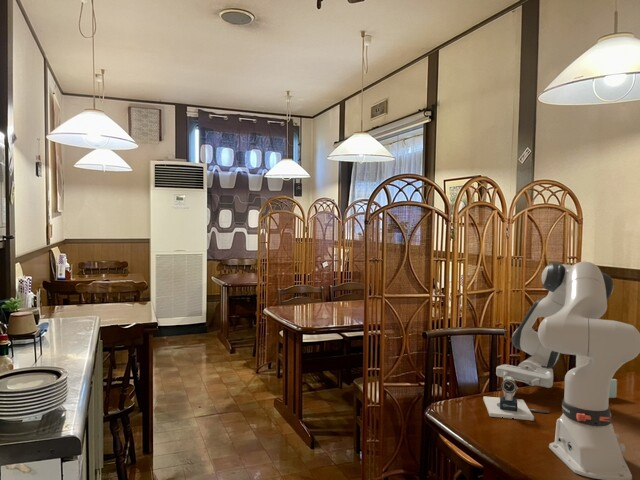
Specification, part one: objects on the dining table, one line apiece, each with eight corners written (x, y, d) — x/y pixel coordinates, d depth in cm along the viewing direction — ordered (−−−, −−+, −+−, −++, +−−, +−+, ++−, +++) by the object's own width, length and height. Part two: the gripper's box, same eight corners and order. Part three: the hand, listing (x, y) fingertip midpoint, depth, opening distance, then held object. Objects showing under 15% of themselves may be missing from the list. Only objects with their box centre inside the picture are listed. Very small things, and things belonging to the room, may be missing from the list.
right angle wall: (616, 399, 175) (616, 379, 175) (587, 400, 173) (588, 380, 173) (594, 388, 187) (594, 370, 186) (567, 389, 185) (567, 370, 185)
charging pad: (555, 422, 151) (555, 418, 151) (490, 416, 156) (490, 412, 156) (542, 404, 167) (542, 401, 167) (483, 399, 171) (483, 396, 171)
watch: (500, 411, 157) (500, 379, 157) (499, 403, 164) (500, 373, 164) (517, 413, 155) (518, 382, 155) (516, 405, 162) (517, 375, 162)
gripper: (503, 358, 187) (490, 366, 176) (557, 369, 173) (546, 378, 163) (502, 373, 187) (489, 382, 177) (556, 386, 173) (546, 395, 163)
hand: (517, 380), depth 169 cm, fingers open, 8 cm apart
